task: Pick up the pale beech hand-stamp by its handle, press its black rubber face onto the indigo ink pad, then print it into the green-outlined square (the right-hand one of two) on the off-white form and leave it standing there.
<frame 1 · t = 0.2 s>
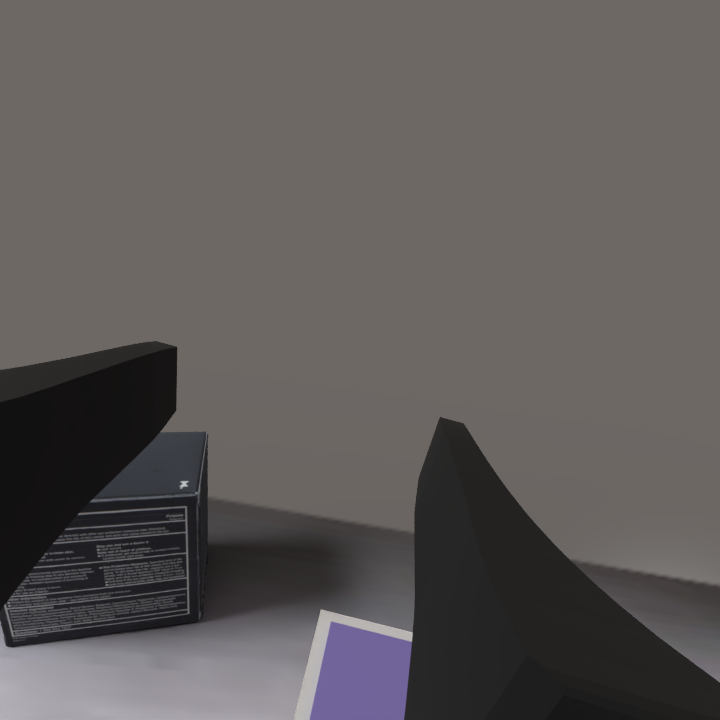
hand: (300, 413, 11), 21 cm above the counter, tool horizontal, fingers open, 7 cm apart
small box: (122, 589, 28), on the counter
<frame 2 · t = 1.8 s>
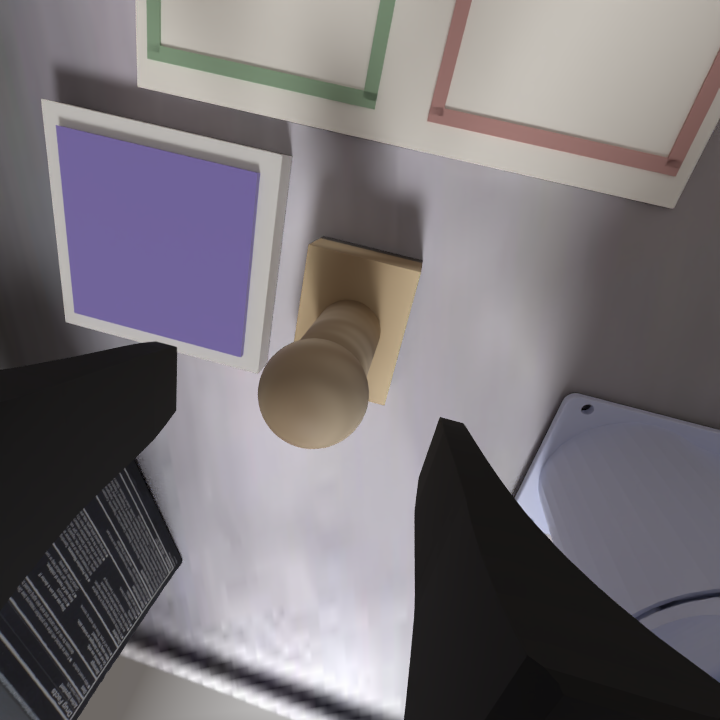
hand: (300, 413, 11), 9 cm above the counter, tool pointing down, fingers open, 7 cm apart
ink pad: (175, 245, 19), on the counter
stamp: (358, 312, 19), on the counter
small box: (117, 501, 27), on the counter
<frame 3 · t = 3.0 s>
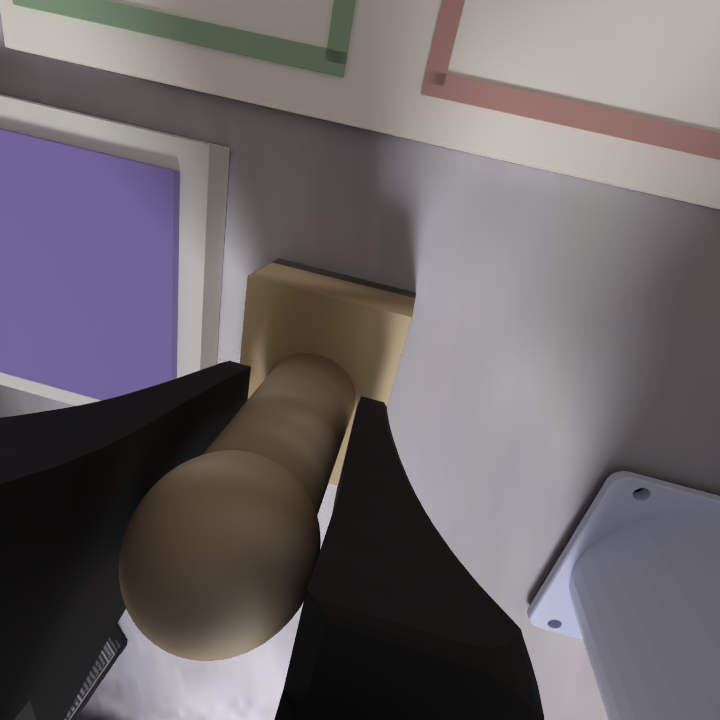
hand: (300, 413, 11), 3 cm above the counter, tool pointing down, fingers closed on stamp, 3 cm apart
ink pad: (82, 269, 14), on the counter
stamp: (330, 360, 14), on the counter, touching gripper
small box: (46, 574, 22), on the counter
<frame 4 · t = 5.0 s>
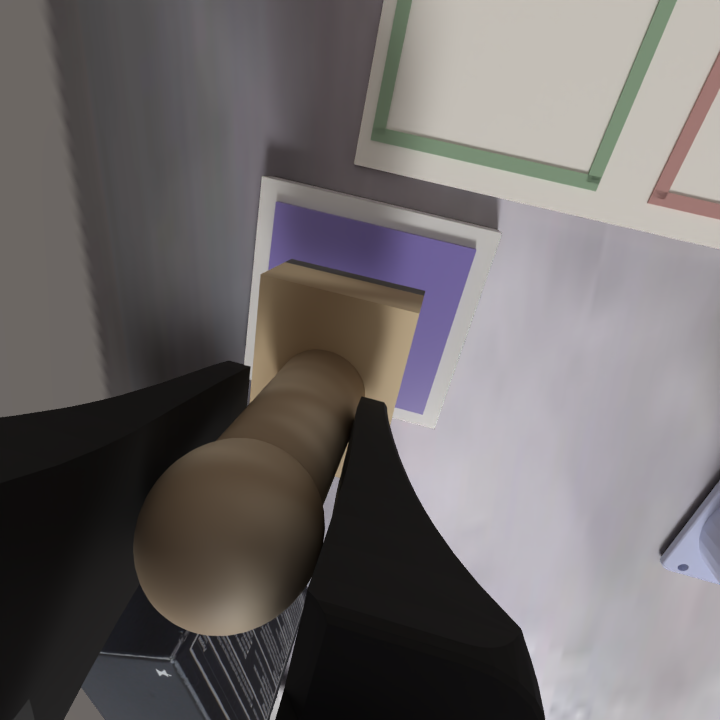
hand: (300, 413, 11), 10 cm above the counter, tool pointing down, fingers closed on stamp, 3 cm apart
form: (686, 43, 14), on the counter
ink pad: (360, 306, 20), on the counter
stamp: (341, 358, 14), point 6 cm above the counter, touching gripper
small box: (250, 539, 28), on the counter
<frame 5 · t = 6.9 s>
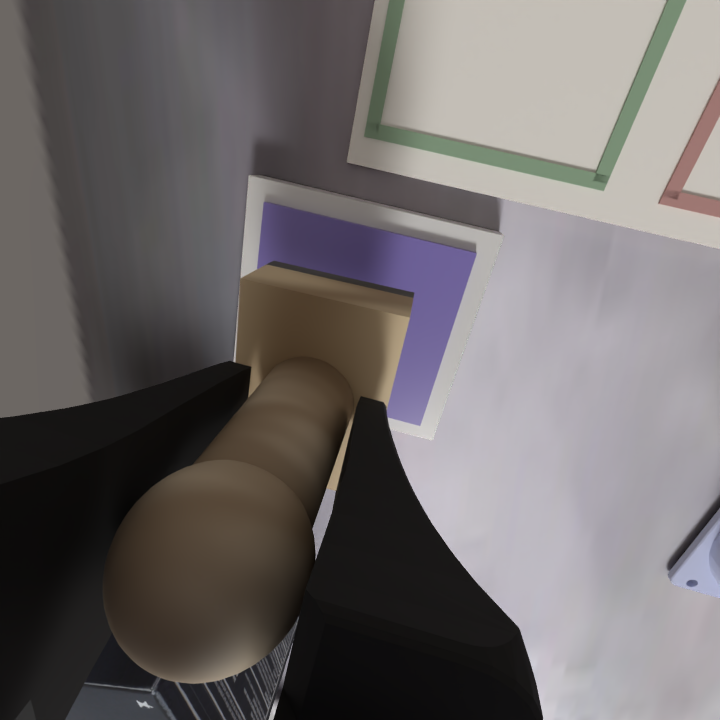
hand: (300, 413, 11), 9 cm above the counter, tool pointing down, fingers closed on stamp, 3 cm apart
form: (702, 32, 13), on the counter
ink pad: (354, 312, 19), on the counter
stamp: (328, 363, 14), point 6 cm above the counter, touching gripper
small box: (241, 551, 27), on the counter
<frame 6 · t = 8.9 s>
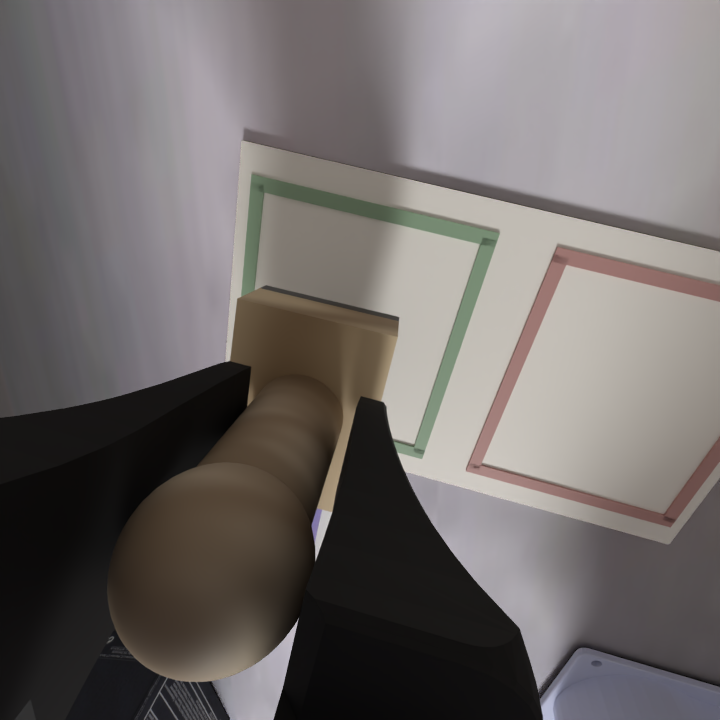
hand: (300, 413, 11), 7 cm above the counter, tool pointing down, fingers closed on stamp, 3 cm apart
form: (479, 363, 17), on the counter
ink pad: (243, 515, 22), on the counter
stamp: (315, 385, 14), point 4 cm above the counter, tilted 6°, touching gripper
small box: (173, 672, 31), on the counter
when the fingers open (5 cm above the counter, at t = 10.7 s): stamp drops 1 cm, resting on form.
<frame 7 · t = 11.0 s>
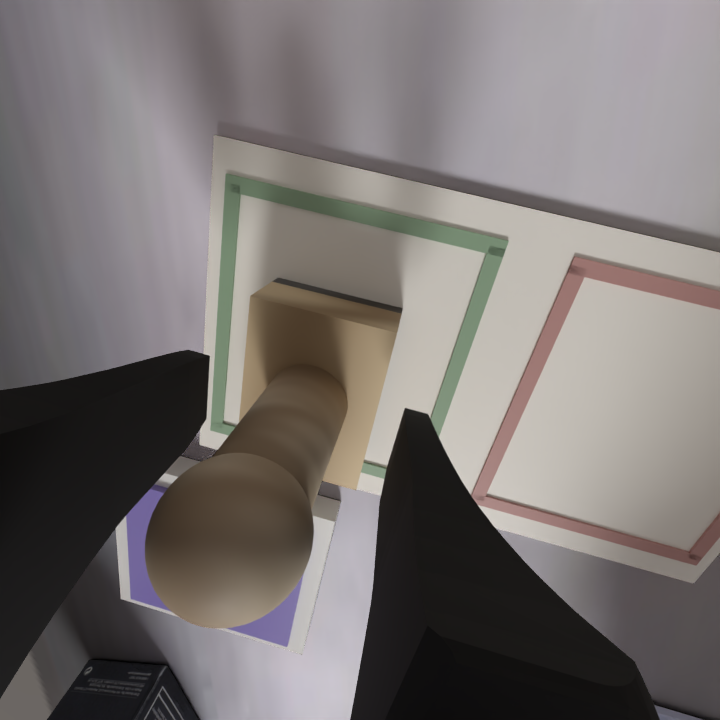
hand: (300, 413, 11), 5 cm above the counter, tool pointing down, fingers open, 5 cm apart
form: (484, 385, 15), on the counter
ink pad: (226, 544, 21), on the counter
stamp: (325, 369, 15), resting on form
small box: (157, 703, 29), on the counter
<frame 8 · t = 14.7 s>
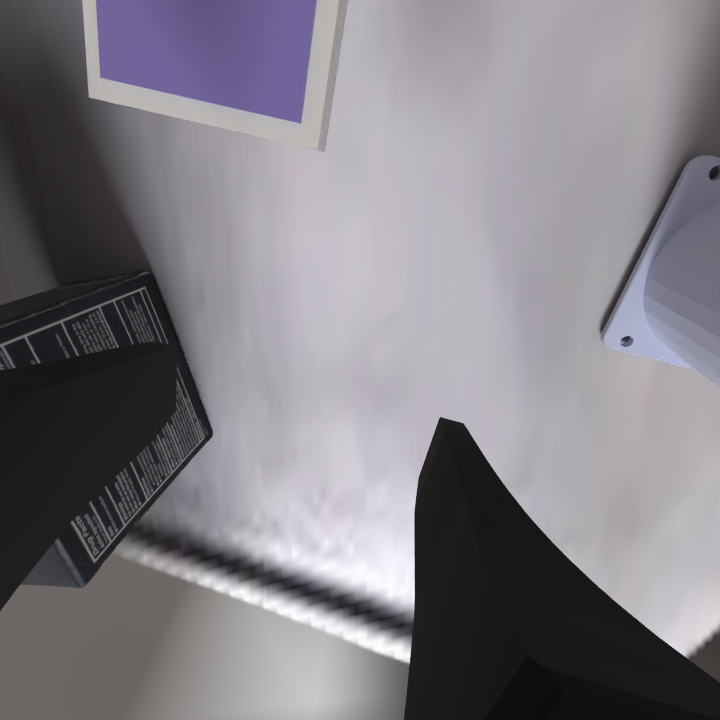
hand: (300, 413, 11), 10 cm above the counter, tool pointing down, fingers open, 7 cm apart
small box: (141, 363, 24), on the counter
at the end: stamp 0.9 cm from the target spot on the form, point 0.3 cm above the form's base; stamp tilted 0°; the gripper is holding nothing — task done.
